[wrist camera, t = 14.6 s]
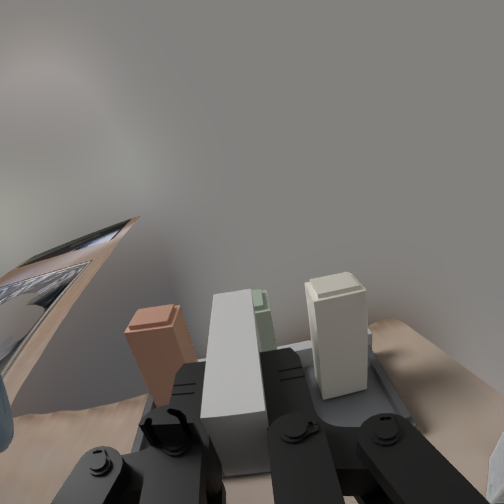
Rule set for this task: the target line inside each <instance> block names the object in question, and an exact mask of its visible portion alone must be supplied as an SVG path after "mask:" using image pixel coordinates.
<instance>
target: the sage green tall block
mask: <svg viewBox="0 0 504 504" xmlns="http://www.w3.org/2000/svg"><path fill="white" fill-rule="evenodd" d="M251 292H252V298H253V303H254V309H255V315H256V320H257V326H258V331H259V337H260V342H261V349H262V352H265V351H271V350H277V345H276V339H275V334H274V328H273V322H272V318H271V311H270V306H269V302H268V296H267V292H266V290H264V291H261V289H257V290H252V291H251Z"/></svg>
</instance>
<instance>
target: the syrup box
mask: <svg viewBox="0 0 504 504" xmlns="http://www.w3.org/2000/svg"><path fill="white" fill-rule="evenodd" d="M486 500H487V501H488V502H489V503H490V504H504V431H503V433H502V436H501V438H500V440H499V442H498V444H497V446H496V447H495V450H494V451H493V453H492V455H491V457H490V459H489V473H488V484H487V493H486Z"/></svg>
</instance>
